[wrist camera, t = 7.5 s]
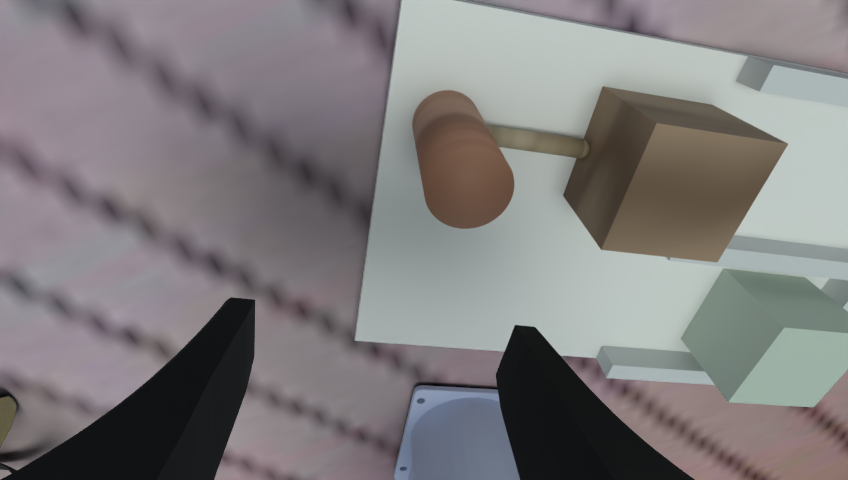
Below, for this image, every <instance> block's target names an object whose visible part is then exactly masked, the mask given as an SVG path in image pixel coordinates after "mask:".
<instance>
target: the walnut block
mask: <svg viewBox="0 0 848 480" xmlns="http://www.w3.org/2000/svg"><path fill="white" fill-rule="evenodd" d="M412 129H413V135H414V140H415V146H416V152H417V157H418V163H419V169H420V174H421V180H422V186H423V191H424V197H425V202H426V205H427V207H428V209H429V210H430V212H431V213H432V215H433V216H434V217H435V218H436V219H438V220H439V221H440V222H442V223H444V224H446V225H448V226H451V227H454V228H459V229H471V228H477V227H480V226H483V225H486V224H488V223H490V222H491V221H493V220H495V219H496V218H497V217H498V216H500V215H501V214H502V213H503V212H504V210H505V209H506V208H507V206H508V205H509V203H510V201H511V199H512V196H513V192H514V176H513V172H512V170H511V168H510V166H509V164H508V162H507V161H506V159H505V157H504V155H503V153H502V152H501V150H500V148H499V147H503V148H510V149H517V150H524V151H531V152H538V153H545V154H552V155H559V156H566V157H573V158H576V161H575V164H574V167H573V169H572V172H571V175H570V178H569V180H568V183H567V186H566V189H565V191H564V194H563V196H564V198H565V199H566V201H567V202H568V203H569V205H570V206H571V208H572V209H573V211H574V212H575V213H576V215H577V216H578V218H579V219H580V221H581V222H582V223H583V225H584V226H585V228H586V229H587V230H588V232H589V233H590V235H591V236H592V238H593V239H594V240H595V242H596V243H597V245H598V246H599V248H600V249H601V250H607V251H616V252H625V253H635V254H644V255H653V256H662V257H671V258H680V259H689V260H699V261H708V262H718V261H719V259H720V257H721V256H722V254H723V252H724V251H725V249H726V247H727V246H728V244H729V242H730V241H731V239H732V237H733V236H734V234H735V232H736V231H737V229H738V227H739V226H740V224H741V222H742V221H743V219H744V217H745V216H746V214H747V212H748V211H749V209H750V207H751V206H752V204H753V202H754V201H755V199H756V197H757V196H758V194H759V192H760V191H761V189H762V187H763V186H764V184H765V182H766V181H767V179H768V177H769V176H770V174H771V172H772V171H773V169H774V167H775V166H776V164H777V162H778V161H779V159H780V157H781V156H782V154H783V152H784V151H785V149H786V147H787V146H788V143H786V142H784V141H782V140H780V139H778V138H776V137H774V136H772V135H770V134H768V133H766V132H764V131H762V130H760V129H759V128H757V127H755V126H753V125H751V124H749V123H747V122H745V121H743V120H741V119H739V118H737V117H735V116H733V115H731V114H729V113H727V112H726V111H724V110H722V109H720V108H718V107H716V106H714V105H711V104H705V103H700V102H694V101H688V100H682V99H676V98H670V97H664V96H658V95H652V94H646V93H640V92H634V91H628V90H622V89H616V88H610V87H604V86H603V87H602V90H601V92H600V95H599V98H598V101H597V103H596V106H595V109H594V112H593V114H592V117H591V120H590V123H589V125H588V128H587V131H586V134H585V136H584V139H579V138H572V137H565V136H559V135H552V134H545V133H538V132H531V131H525V130H518V129H511V128H504V127H498V126H491V125H486V123H485V122H484V120H483V118H482V116H481V114H480V113H479V111H478V109H477V107H476V106H475V104H474V103H473V101H472V100H471V99H470V98H469V97H467V96H466V95H464V94H462V93H460V92H457V91H452V90H443V91H438V92H435V93H433V94H431V95H429V96H428V97H426V98H425V99H424V100H423V101H422V102H421V103H420V104H419V106H418V107H417V109H416V111H415V113H414V116H413V121H412Z"/></svg>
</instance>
